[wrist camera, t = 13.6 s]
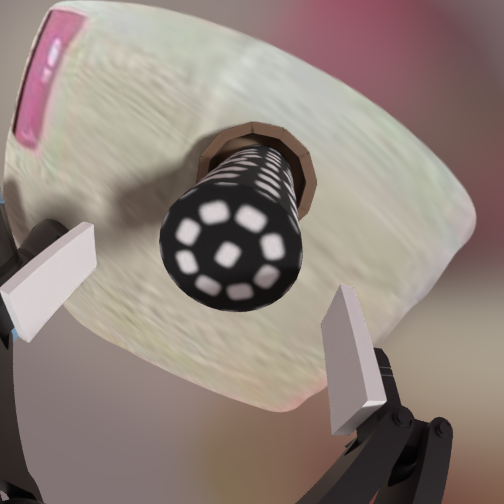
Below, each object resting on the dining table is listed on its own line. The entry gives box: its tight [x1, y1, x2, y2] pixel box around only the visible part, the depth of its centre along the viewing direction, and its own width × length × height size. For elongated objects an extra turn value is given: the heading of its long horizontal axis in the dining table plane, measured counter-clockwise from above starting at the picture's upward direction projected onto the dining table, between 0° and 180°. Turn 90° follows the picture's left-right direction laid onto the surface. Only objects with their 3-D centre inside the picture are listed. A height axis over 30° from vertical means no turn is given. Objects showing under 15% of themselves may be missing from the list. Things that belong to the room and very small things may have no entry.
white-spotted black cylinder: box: [159, 144, 303, 312], centre depth 24 cm, size 8×8×20 cm
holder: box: [196, 122, 317, 221], centre depth 32 cm, size 13×13×4 cm
